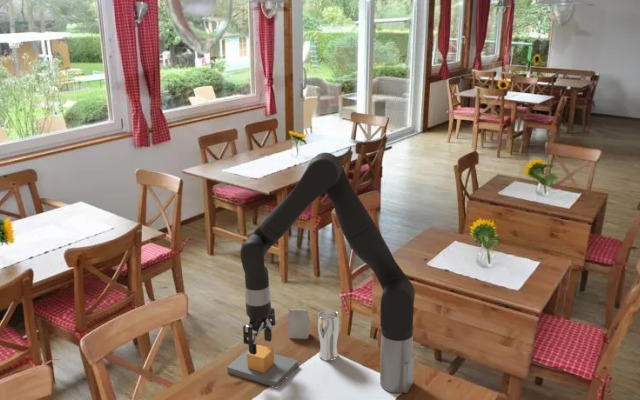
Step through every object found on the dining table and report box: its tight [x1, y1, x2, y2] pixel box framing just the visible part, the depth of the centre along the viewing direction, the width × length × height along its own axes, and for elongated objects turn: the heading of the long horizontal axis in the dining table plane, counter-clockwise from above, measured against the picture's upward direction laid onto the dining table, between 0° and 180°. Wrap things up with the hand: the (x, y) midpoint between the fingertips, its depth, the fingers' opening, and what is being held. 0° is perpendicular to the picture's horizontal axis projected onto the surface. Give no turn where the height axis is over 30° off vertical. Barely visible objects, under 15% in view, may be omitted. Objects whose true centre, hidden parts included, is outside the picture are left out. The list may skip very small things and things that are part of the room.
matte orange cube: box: [247, 344, 275, 373], centre depth 183 cm, size 6×6×5 cm
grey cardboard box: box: [287, 308, 310, 340], centre depth 204 cm, size 4×7×10 cm, turn 83°
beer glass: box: [316, 309, 340, 360], centre depth 190 cm, size 7×7×15 cm
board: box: [226, 348, 299, 388], centre depth 185 cm, size 18×13×6 cm
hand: (260, 346), depth 182 cm, fingers open, 8 cm apart
